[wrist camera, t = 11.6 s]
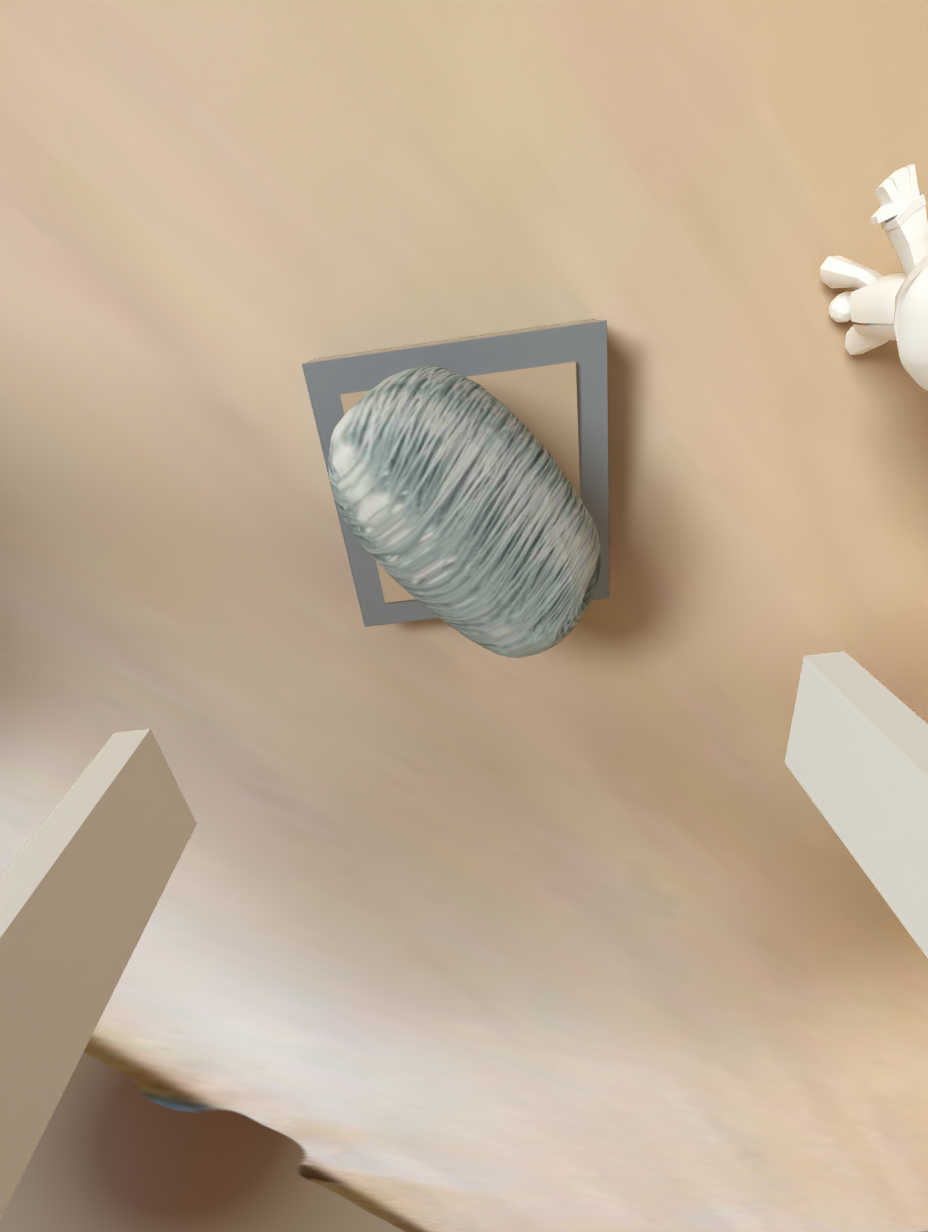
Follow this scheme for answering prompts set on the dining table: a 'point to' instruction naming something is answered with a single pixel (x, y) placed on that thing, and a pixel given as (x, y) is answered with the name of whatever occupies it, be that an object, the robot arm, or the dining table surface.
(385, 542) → the grey streaked ellipsoid
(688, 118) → the dining table surface
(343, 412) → the stand
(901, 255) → the figurine
